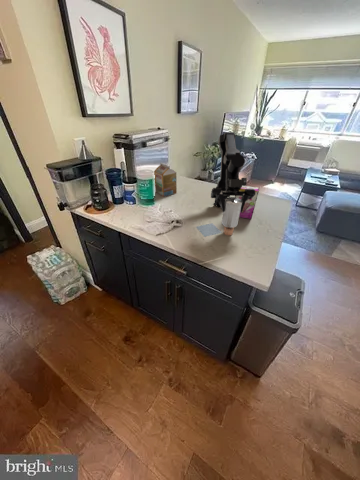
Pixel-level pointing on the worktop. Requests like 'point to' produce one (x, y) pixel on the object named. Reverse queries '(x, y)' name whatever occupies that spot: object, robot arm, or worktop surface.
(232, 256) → the worktop surface
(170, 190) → the milk carton
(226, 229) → the orange rounded ball
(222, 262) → the worktop surface
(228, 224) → the white can
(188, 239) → the worktop surface
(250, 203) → the candy bar box
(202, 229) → the slate mat
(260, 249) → the worktop surface
